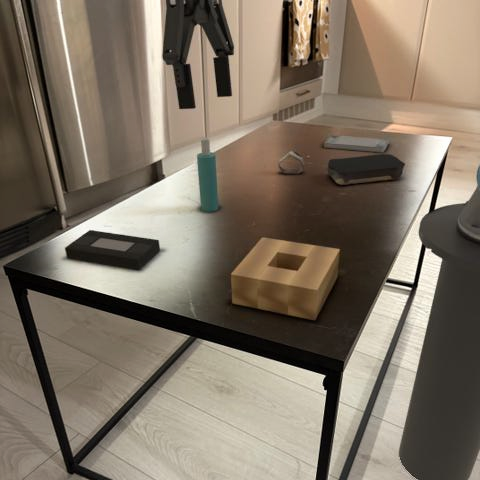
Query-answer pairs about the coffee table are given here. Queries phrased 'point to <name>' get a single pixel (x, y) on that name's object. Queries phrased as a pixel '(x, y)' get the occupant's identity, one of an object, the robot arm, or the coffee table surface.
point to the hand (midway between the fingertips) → (207, 102)
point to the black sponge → (365, 169)
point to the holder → (285, 277)
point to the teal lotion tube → (207, 177)
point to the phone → (356, 143)
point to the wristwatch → (295, 158)
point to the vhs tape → (113, 249)
